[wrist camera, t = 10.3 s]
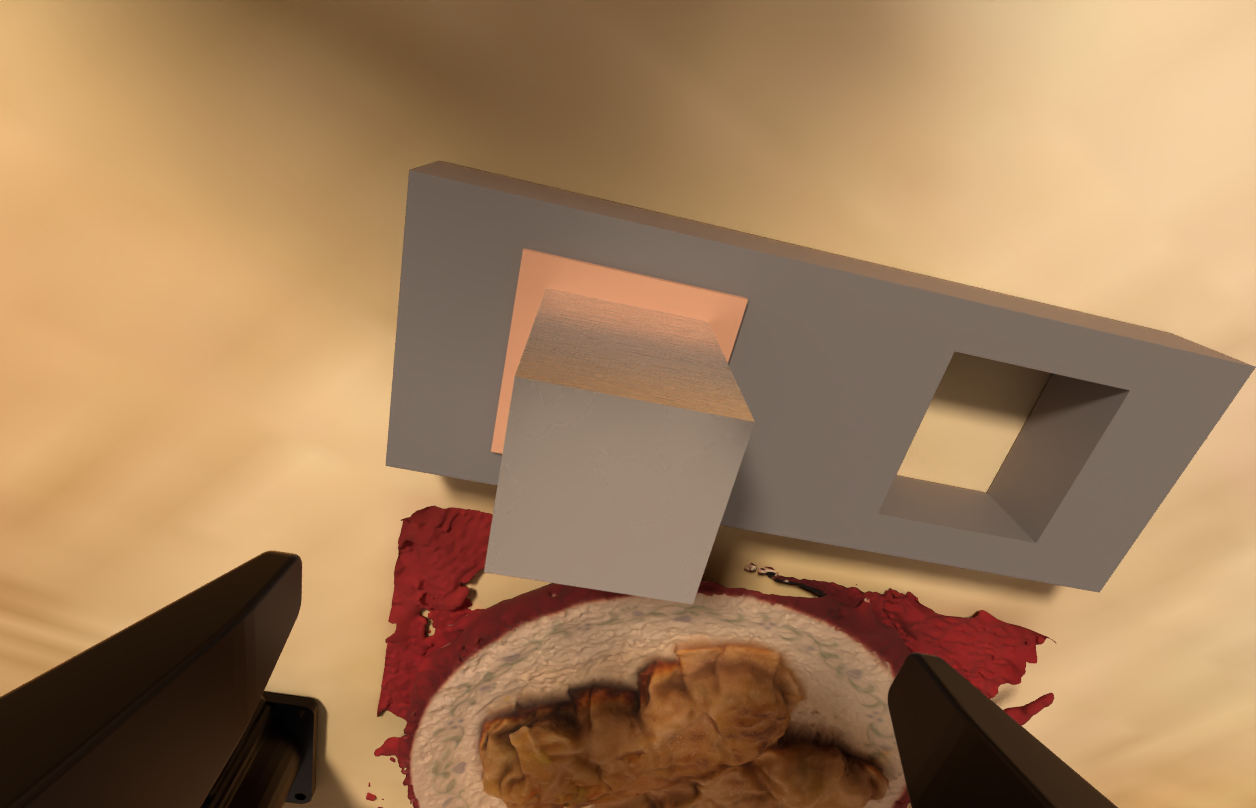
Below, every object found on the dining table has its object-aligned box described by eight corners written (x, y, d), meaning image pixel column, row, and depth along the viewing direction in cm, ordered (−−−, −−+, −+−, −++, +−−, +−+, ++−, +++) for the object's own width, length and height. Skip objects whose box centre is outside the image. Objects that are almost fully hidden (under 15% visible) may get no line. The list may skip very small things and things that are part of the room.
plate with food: (419, 475, 24) (387, 532, 20) (1036, 613, 26) (1090, 682, 23) (364, 846, 33) (336, 922, 30) (816, 917, 36) (833, 994, 33)
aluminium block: (668, 460, 19) (692, 604, 13) (521, 434, 18) (483, 572, 13) (708, 321, 17) (754, 422, 12) (546, 288, 16) (514, 376, 11)
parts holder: (1045, 538, 24) (1103, 596, 21) (413, 420, 22) (383, 469, 19) (1171, 333, 21) (1262, 369, 18) (439, 160, 18) (406, 170, 15)
